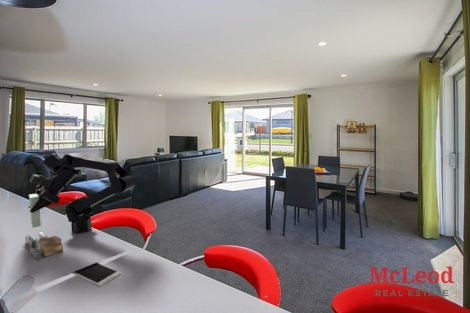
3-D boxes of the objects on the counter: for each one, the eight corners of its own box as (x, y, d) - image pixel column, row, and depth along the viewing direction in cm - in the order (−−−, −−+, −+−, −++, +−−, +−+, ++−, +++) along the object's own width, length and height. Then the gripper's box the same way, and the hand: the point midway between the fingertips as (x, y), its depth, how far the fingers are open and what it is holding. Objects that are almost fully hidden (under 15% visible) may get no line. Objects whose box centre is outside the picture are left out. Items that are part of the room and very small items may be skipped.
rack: (46, 239, 99) (46, 229, 98) (64, 253, 88) (63, 243, 88) (21, 246, 92) (20, 236, 92) (36, 263, 82) (35, 251, 81)
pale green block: (39, 221, 101) (36, 193, 100) (40, 226, 97) (38, 196, 95) (31, 223, 99) (28, 194, 98) (32, 227, 95) (30, 197, 94)
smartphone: (90, 262, 84) (90, 259, 84) (121, 274, 77) (121, 272, 77) (68, 272, 78) (68, 270, 77) (100, 287, 71) (100, 284, 71)
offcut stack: (58, 245, 92) (57, 234, 91) (63, 250, 89) (62, 238, 88) (40, 251, 87) (39, 240, 87) (44, 256, 84) (44, 244, 84)
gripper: (41, 164, 105) (8, 193, 99) (47, 170, 91) (9, 204, 85) (64, 179, 111) (35, 208, 105) (73, 187, 98) (40, 220, 91)
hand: (30, 210), depth 96 cm, fingers closed on pale green block, 6 cm apart
